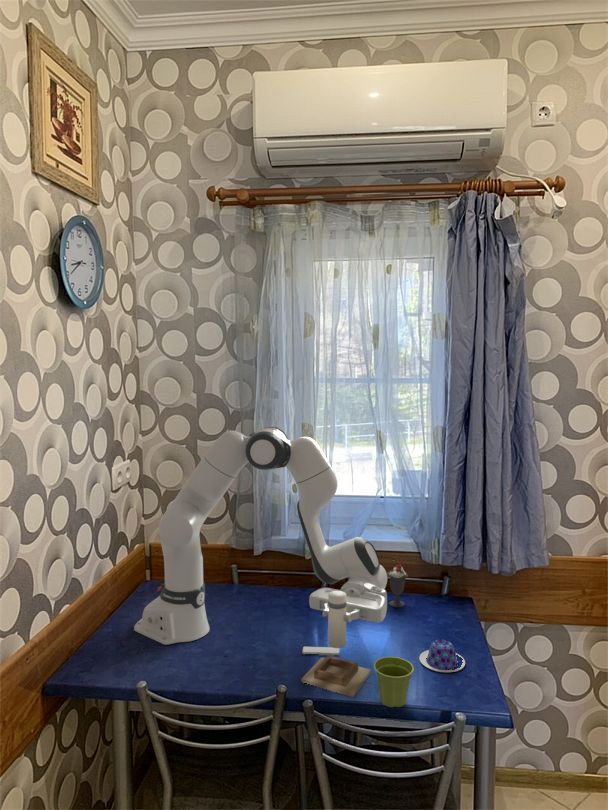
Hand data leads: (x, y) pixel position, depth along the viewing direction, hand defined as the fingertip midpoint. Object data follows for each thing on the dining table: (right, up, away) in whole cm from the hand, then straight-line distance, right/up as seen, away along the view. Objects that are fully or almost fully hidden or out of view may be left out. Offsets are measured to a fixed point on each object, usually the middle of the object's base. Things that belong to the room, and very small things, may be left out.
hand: (335, 616), depth 155 cm
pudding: (+29, -16, +11) cm, 35 cm away
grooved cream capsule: (0, -7, +2) cm, 8 cm away
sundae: (+22, -12, +46) cm, 53 cm away
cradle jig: (0, -17, +3) cm, 17 cm away
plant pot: (+13, -18, -7) cm, 23 cm away
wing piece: (-3, -16, +16) cm, 22 cm away
